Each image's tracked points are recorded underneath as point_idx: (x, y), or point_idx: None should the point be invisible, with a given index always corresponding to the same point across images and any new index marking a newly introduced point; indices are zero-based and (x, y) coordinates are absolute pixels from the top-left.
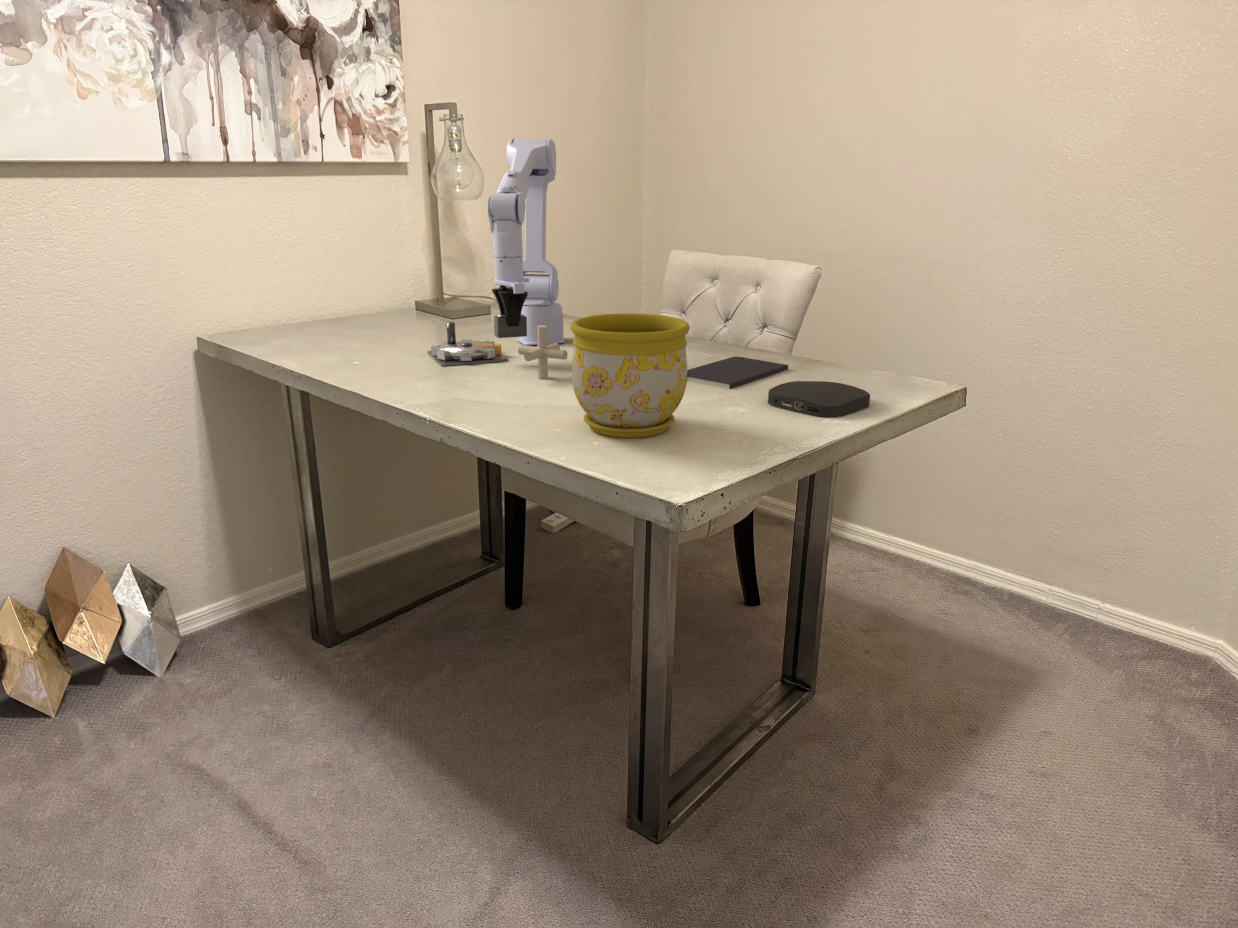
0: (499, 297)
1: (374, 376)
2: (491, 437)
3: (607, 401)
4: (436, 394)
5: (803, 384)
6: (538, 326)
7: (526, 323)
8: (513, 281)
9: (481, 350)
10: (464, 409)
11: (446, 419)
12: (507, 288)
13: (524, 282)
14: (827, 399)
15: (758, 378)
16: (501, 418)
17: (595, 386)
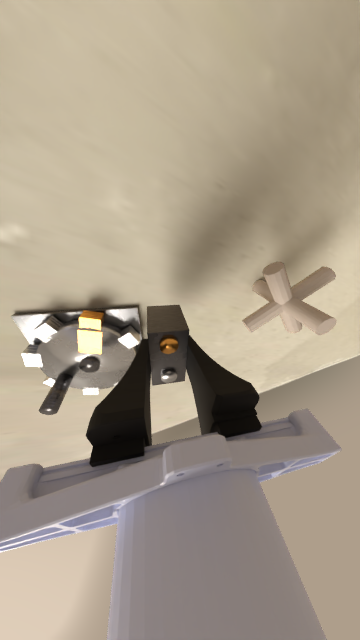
0: (150, 422)
1: (167, 409)
2: (355, 355)
3: None
4: (247, 377)
5: None
6: (321, 332)
7: (184, 320)
8: (267, 474)
9: (131, 349)
10: (296, 363)
11: (305, 372)
12: (144, 443)
13: (228, 445)
14: None
15: None
16: (334, 346)
17: None
